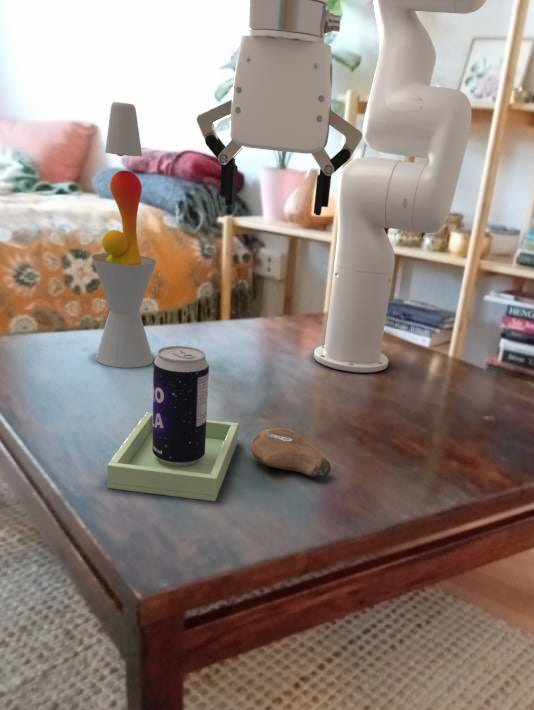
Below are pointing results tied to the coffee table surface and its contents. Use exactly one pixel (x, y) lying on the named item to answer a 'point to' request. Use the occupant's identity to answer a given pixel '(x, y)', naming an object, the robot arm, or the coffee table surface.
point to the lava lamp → (124, 255)
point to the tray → (150, 475)
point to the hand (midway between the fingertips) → (273, 209)
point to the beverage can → (179, 405)
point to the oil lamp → (289, 452)
